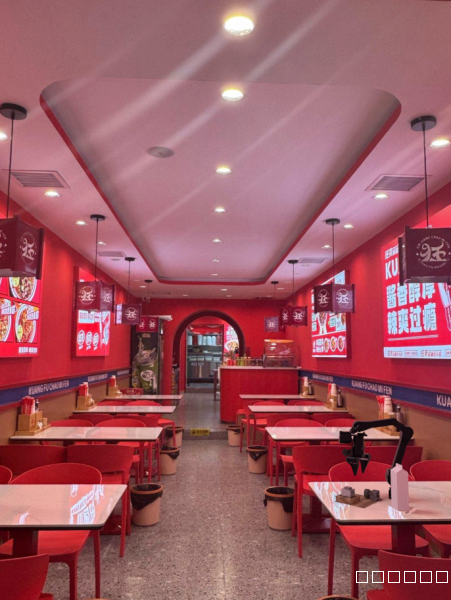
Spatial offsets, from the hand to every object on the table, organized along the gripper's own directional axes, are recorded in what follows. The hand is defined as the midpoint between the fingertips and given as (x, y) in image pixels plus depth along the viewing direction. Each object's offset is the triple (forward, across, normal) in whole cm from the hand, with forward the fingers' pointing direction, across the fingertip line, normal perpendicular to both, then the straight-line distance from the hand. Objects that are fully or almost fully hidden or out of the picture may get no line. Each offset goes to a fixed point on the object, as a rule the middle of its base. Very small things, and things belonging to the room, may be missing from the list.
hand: (359, 474), depth 253 cm
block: (+11, +14, +1) cm, 18 cm away
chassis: (+12, +9, +4) cm, 16 cm away
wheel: (+11, +2, +7) cm, 13 cm away
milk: (+12, +8, +25) cm, 29 cm away
